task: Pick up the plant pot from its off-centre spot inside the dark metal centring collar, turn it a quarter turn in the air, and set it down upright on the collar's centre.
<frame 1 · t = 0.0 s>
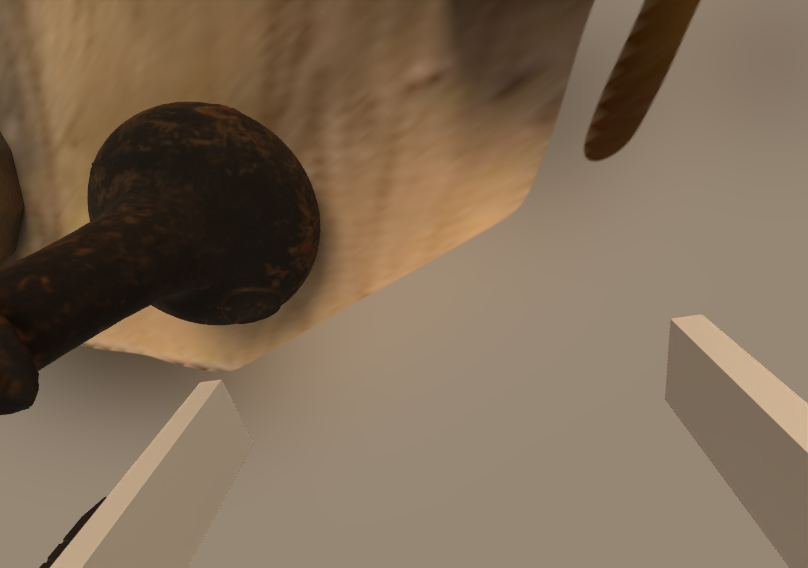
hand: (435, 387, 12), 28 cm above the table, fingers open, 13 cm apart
glass bottle: (246, 201, 39), on the table
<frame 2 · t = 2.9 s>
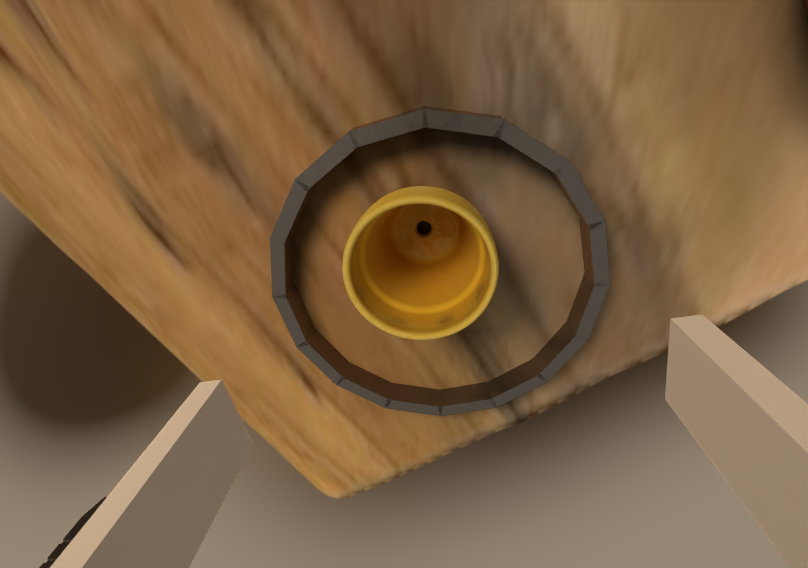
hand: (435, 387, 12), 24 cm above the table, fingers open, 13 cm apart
centring collar: (434, 278, 37), on the table
plant pot: (424, 225, 35), resting in centring collar
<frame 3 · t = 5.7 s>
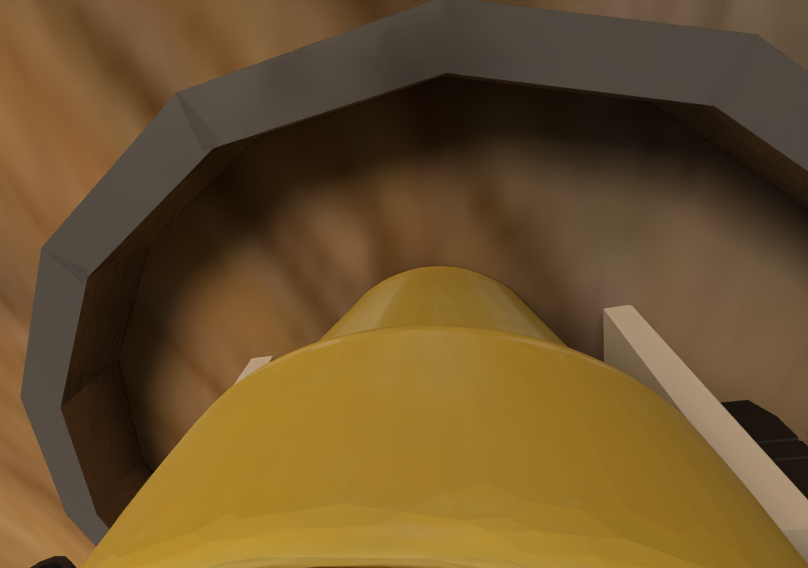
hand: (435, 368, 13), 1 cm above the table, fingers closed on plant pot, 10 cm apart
centring collar: (458, 458, 16), on the table
plant pot: (436, 349, 14), resting in centring collar, touching gripper
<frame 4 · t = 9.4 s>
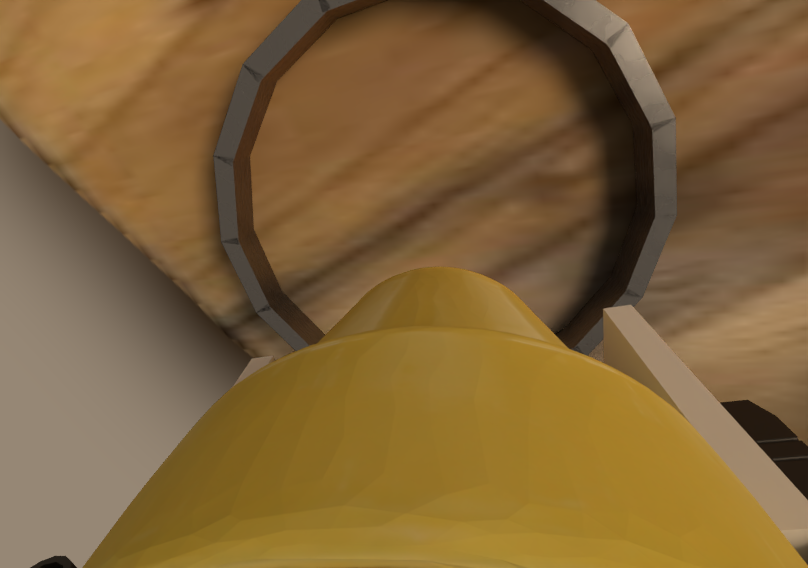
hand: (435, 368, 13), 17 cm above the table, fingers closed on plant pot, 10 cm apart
centring collar: (436, 218, 28), on the table
plant pot: (436, 349, 14), point 16 cm above the table, touching gripper
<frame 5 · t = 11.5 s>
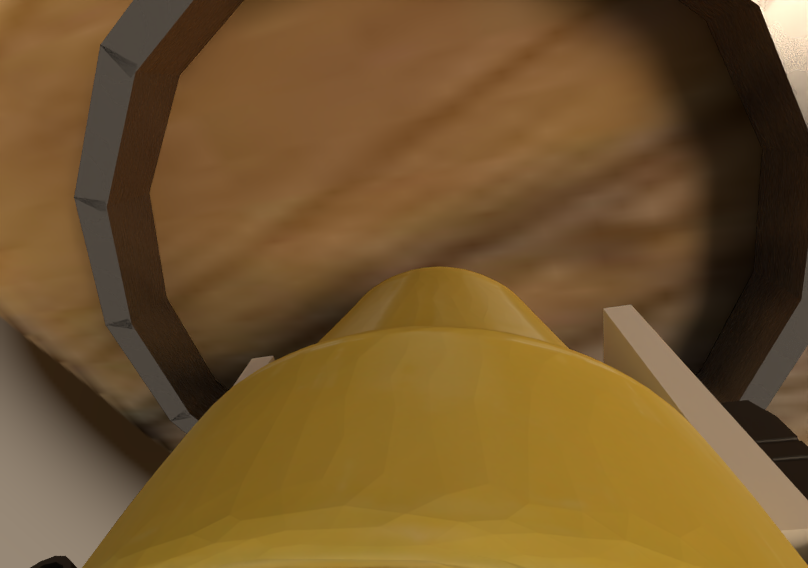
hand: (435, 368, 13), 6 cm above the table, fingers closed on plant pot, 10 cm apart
centring collar: (437, 285, 18), on the table
plant pot: (436, 349, 14), point 5 cm above the table, touching gripper
when the fingers open (2 cm above the table, at t = 13.2 s): plant pot drops 1 cm, resting in centring collar.
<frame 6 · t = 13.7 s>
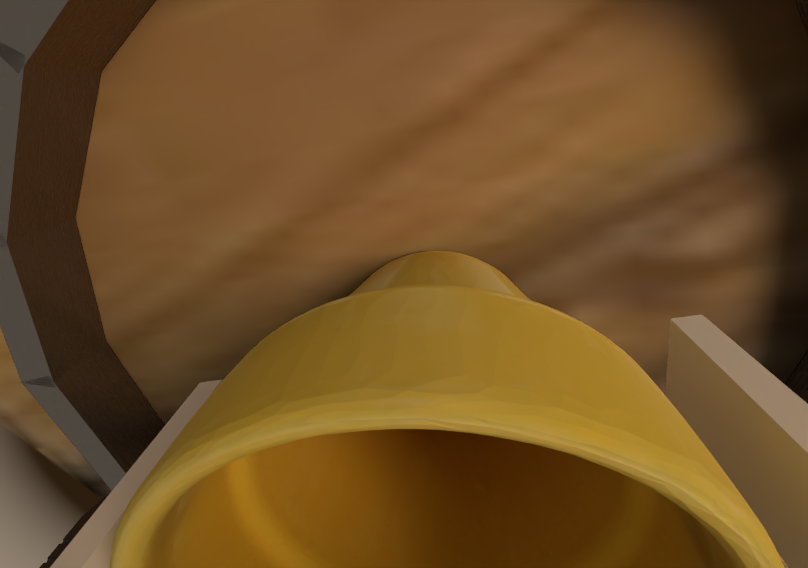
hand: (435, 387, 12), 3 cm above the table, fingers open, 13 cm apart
centring collar: (435, 330, 15), on the table
plant pot: (433, 328, 15), resting in centring collar
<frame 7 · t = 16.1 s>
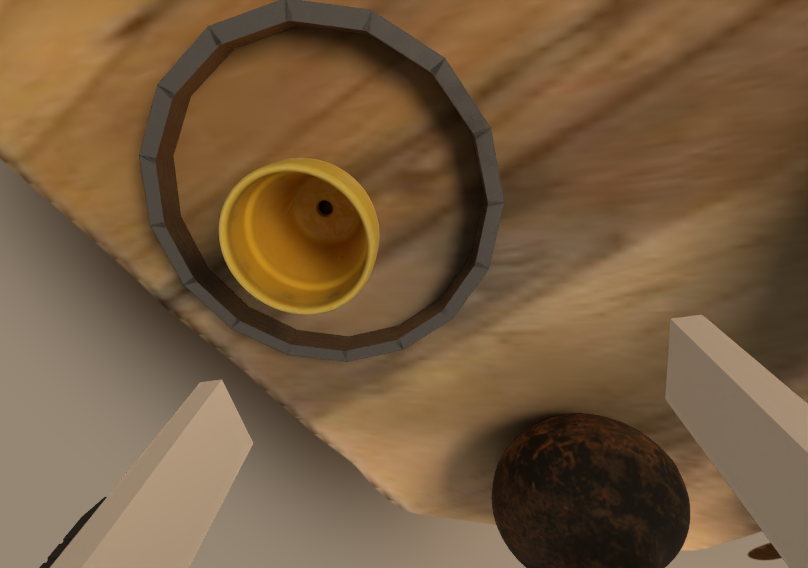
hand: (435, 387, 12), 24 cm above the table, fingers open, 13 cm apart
centring collar: (328, 206, 35), on the table
glass bottle: (563, 447, 46), on the table
plant pot: (328, 206, 35), resting in centring collar
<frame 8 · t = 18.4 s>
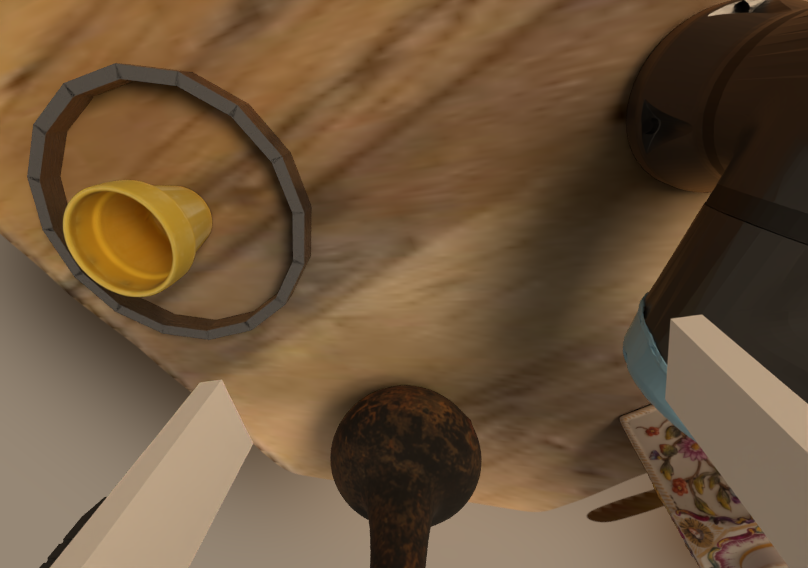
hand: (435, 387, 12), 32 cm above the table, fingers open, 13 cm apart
decorative jar: (676, 428, 52), on the table
centring collar: (182, 215, 44), on the table
glass bottle: (408, 416, 55), on the table
plant pot: (183, 214, 45), resting in centring collar
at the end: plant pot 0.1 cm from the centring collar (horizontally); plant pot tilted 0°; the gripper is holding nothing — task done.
